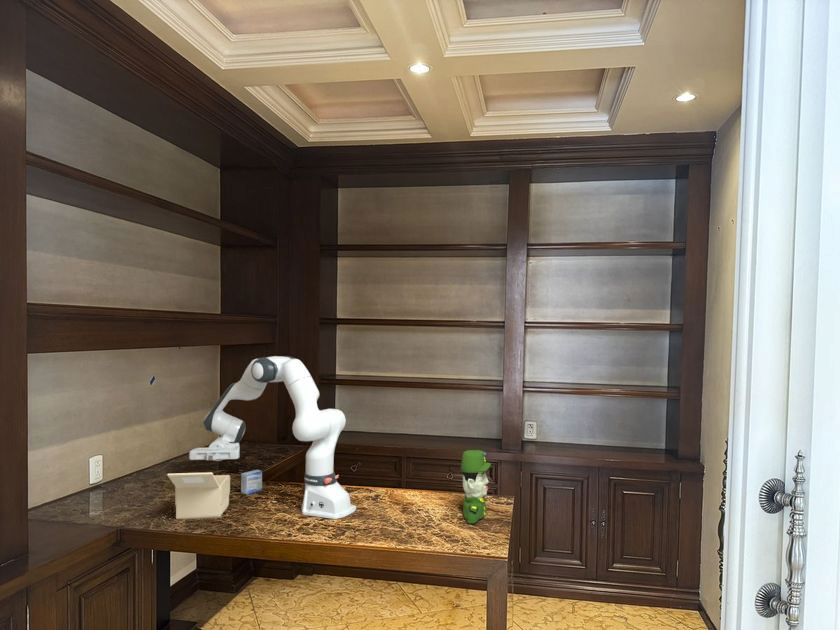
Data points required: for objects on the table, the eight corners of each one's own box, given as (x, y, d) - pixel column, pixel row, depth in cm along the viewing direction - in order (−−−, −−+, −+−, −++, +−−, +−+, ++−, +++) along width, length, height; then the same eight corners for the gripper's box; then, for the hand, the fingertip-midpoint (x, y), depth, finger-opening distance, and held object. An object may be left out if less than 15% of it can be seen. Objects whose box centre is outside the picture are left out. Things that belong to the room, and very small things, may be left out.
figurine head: (488, 526, 193) (488, 458, 193) (456, 524, 195) (456, 456, 196) (492, 506, 214) (493, 445, 214) (464, 504, 217) (464, 443, 217)
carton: (187, 505, 213) (187, 476, 213) (230, 504, 215) (230, 474, 215) (174, 519, 198) (175, 487, 198) (221, 517, 200) (221, 485, 200)
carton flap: (167, 473, 188) (167, 475, 188) (212, 472, 190) (211, 474, 190) (177, 486, 199) (176, 488, 198) (219, 485, 200) (219, 487, 200)
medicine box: (246, 494, 227) (247, 474, 227) (240, 492, 229) (240, 473, 229) (262, 490, 233) (262, 470, 233) (256, 488, 236) (256, 469, 236)
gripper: (194, 443, 229) (184, 451, 215) (242, 442, 231) (235, 450, 218) (194, 457, 229) (183, 466, 215) (242, 456, 231) (235, 465, 217)
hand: (210, 458), depth 216 cm, fingers closed
